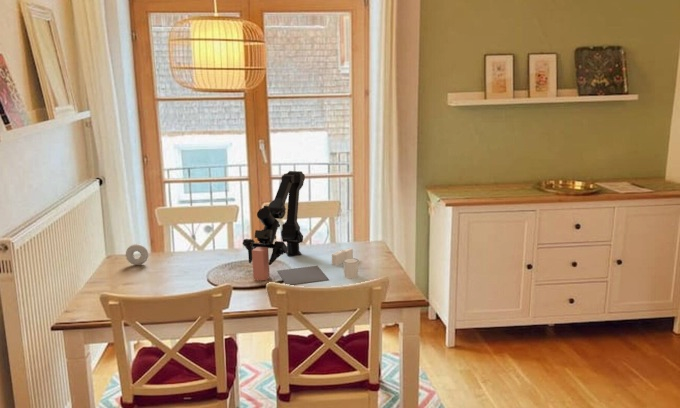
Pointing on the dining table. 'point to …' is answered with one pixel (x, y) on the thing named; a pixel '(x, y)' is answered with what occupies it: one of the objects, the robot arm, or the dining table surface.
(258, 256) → the card box
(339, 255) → the napkin holder
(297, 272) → the mat
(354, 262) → the shot glass
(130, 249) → the donut
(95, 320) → the dining table surface
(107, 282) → the dining table surface
